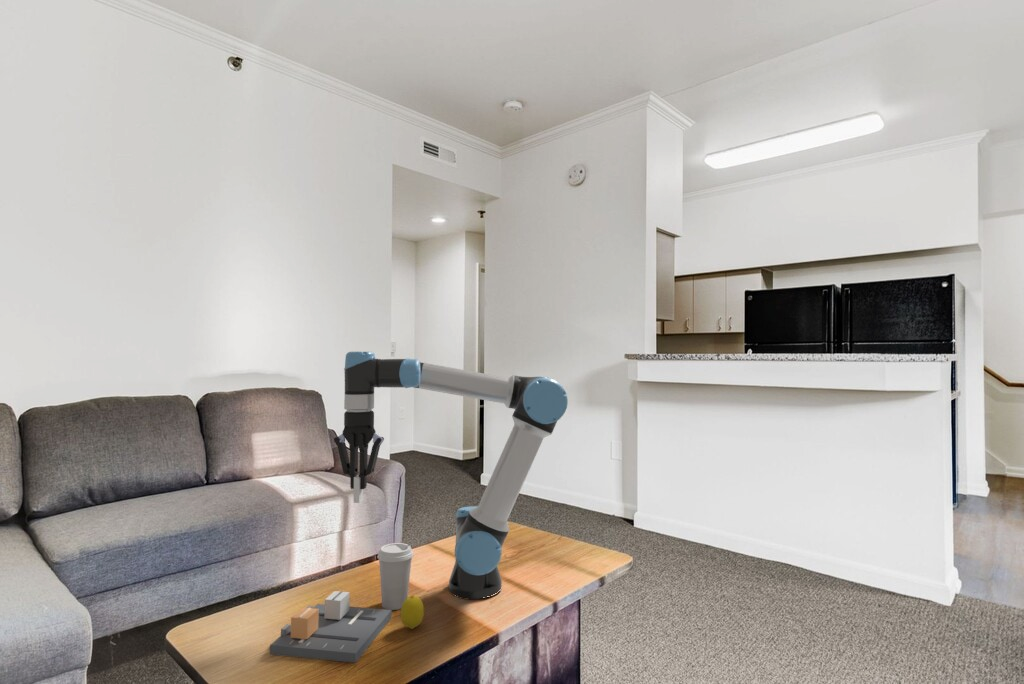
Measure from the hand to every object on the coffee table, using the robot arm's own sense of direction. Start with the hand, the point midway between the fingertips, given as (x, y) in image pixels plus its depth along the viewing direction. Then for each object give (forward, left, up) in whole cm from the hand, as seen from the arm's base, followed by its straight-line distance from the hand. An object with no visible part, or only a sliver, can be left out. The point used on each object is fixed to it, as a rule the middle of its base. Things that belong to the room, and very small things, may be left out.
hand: (358, 501), depth 142 cm
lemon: (-17, +6, -29) cm, 34 cm away
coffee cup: (-8, -6, -29) cm, 30 cm away
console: (0, +12, -29) cm, 31 cm away
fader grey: (+2, +7, -27) cm, 27 cm away
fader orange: (+5, +17, -27) cm, 32 cm away
